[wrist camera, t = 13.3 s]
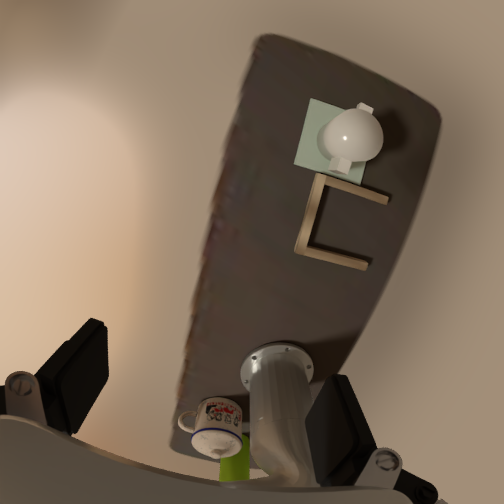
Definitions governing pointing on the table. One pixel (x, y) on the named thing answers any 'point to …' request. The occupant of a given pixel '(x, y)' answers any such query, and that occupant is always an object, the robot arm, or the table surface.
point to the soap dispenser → (236, 464)
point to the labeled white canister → (350, 138)
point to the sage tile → (308, 148)
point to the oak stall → (310, 215)
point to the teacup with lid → (216, 427)
